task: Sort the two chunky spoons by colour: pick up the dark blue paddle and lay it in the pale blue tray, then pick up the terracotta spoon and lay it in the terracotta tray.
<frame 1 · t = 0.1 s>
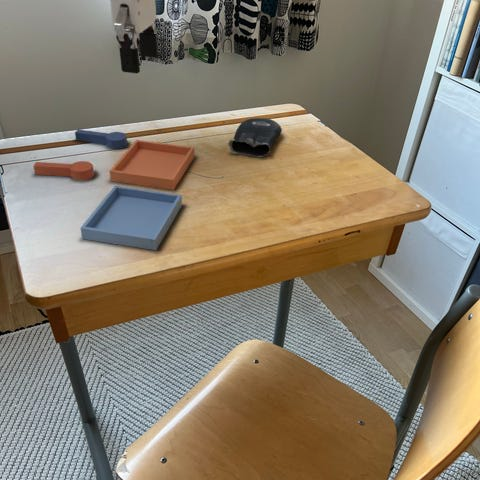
hand: (140, 64, 94), 16 cm above the table, tool pointing down, fingers open, 9 cm apart
dark blue paddle: (102, 142, 107), on the table
terracotta tray: (154, 168, 99), on the table
spoon terracotta: (65, 174, 96), on the table
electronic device: (256, 142, 111), on the table
blue tray: (134, 221, 85), on the table
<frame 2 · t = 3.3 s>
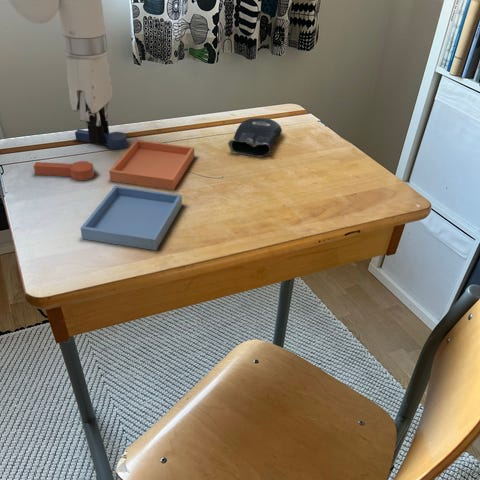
hand: (100, 140, 107), 0 cm above the table, tool pointing down, fingers closed on dark blue paddle, 1 cm apart
dark blue paddle: (102, 142, 107), on the table, touching gripper
everything else where it was.
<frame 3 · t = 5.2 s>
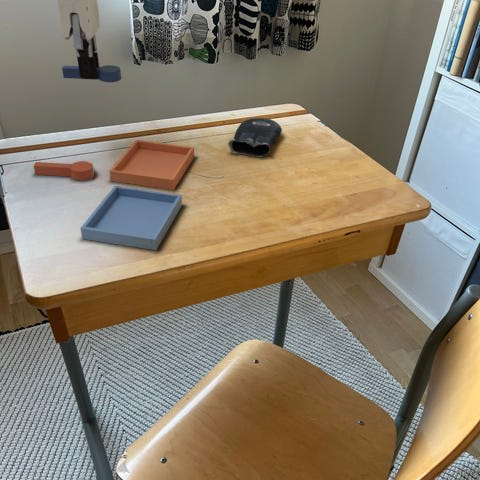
hand: (90, 76, 98), 13 cm above the table, tool pointing down, fingers closed on dark blue paddle, 1 cm apart
dark blue paddle: (93, 78, 98), point 13 cm above the table, touching gripper
everything else where it was.
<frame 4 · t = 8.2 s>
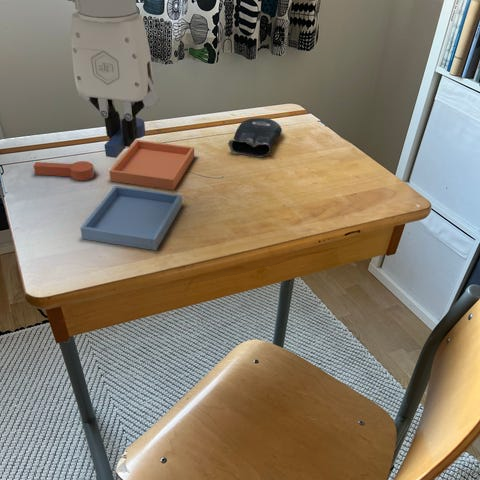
hand: (123, 141, 78), 13 cm above the table, tool pointing down, fingers closed on dark blue paddle, 1 cm apart
dark blue paddle: (124, 142, 78), point 13 cm above the table, touching gripper
everything else where it was.
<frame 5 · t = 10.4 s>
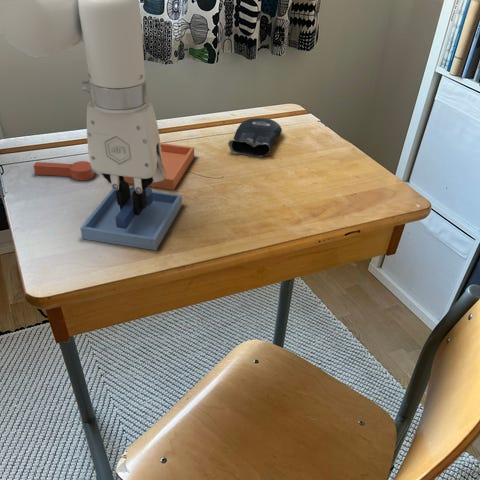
hand: (132, 209, 83), 2 cm above the table, tool pointing down, fingers closed on dark blue paddle, 1 cm apart
dark blue paddle: (133, 210, 84), point 2 cm above the table, touching gripper
everything else where it was.
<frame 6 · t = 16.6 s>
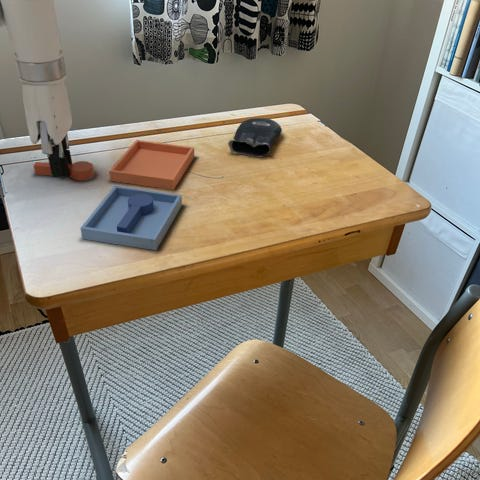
hand: (62, 172, 96), 0 cm above the table, tool pointing down, fingers closed on spoon terracotta, 1 cm apart
dark blue paddle: (134, 218, 85), resting on blue tray
spoon terracotta: (65, 174, 96), on the table, touching gripper
everything else where it was.
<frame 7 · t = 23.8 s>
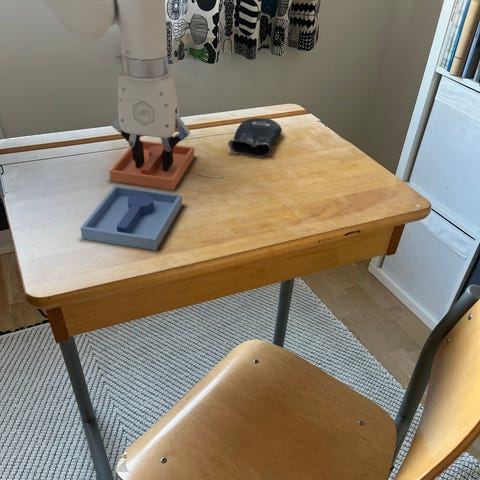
hand: (153, 165, 99), 1 cm above the table, tool pointing down, fingers open, 4 cm apart
spoon terracotta: (154, 165, 99), resting on terracotta tray
everything else where it was.
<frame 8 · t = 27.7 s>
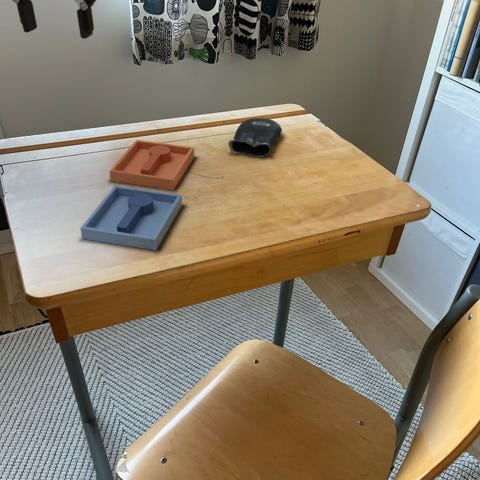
hand: (58, 33, 82), 23 cm above the table, tool pointing down, fingers open, 9 cm apart
nothing on the table moved.
at the end: dark blue paddle inside the target area in the blue tray (0.1 cm from its centre), point 0.5 cm above the blue tray's base; spoon terracotta inside the target area in the terracotta tray (0.1 cm from its centre), point 0.5 cm above the terracotta tray's base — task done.
